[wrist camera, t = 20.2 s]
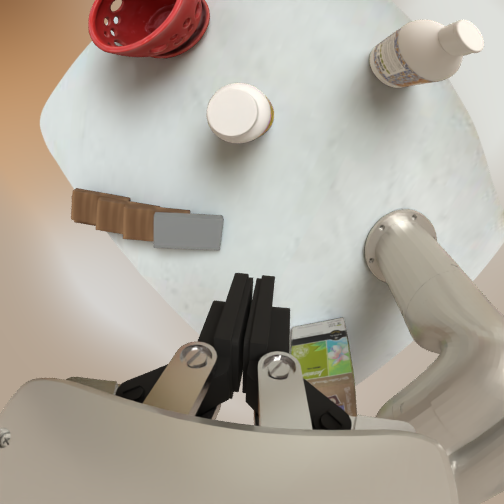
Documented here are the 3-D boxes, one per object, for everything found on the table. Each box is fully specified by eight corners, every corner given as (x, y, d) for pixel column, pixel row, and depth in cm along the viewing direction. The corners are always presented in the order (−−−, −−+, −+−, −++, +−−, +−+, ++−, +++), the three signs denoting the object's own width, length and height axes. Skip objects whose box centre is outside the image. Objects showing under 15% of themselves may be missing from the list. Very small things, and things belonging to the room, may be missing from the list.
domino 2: (159, 210, 41) (97, 200, 38) (154, 239, 43) (95, 229, 40) (160, 206, 42) (100, 196, 39) (155, 234, 44) (98, 225, 41)
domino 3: (190, 214, 41) (123, 208, 38) (186, 244, 43) (123, 238, 40) (190, 210, 42) (125, 204, 39) (186, 239, 44) (124, 233, 41)
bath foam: (388, 96, 31) (470, 88, 13) (358, 55, 29) (418, 9, 11) (422, 76, 28) (512, 62, 10) (393, 36, 26) (467, -9, 8)
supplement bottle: (271, 140, 36) (263, 152, 25) (222, 135, 36) (193, 144, 25) (277, 93, 33) (272, 81, 22) (228, 88, 33) (200, 76, 22)
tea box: (289, 326, 50) (286, 392, 37) (344, 315, 48) (356, 381, 34) (305, 375, 56) (304, 434, 43) (351, 367, 54) (359, 425, 40)
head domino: (223, 219, 40) (153, 216, 38) (219, 250, 43) (153, 247, 40) (222, 215, 42) (155, 211, 39) (218, 245, 44) (154, 242, 42)
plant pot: (180, -22, 25) (146, -54, 14) (234, 23, 29) (212, -9, 18) (118, 34, 30) (70, 20, 19) (163, 82, 33) (119, 74, 23)
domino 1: (128, 201, 41) (72, 190, 38) (124, 229, 43) (71, 219, 40) (130, 197, 42) (76, 188, 39) (126, 225, 44) (74, 215, 41)
